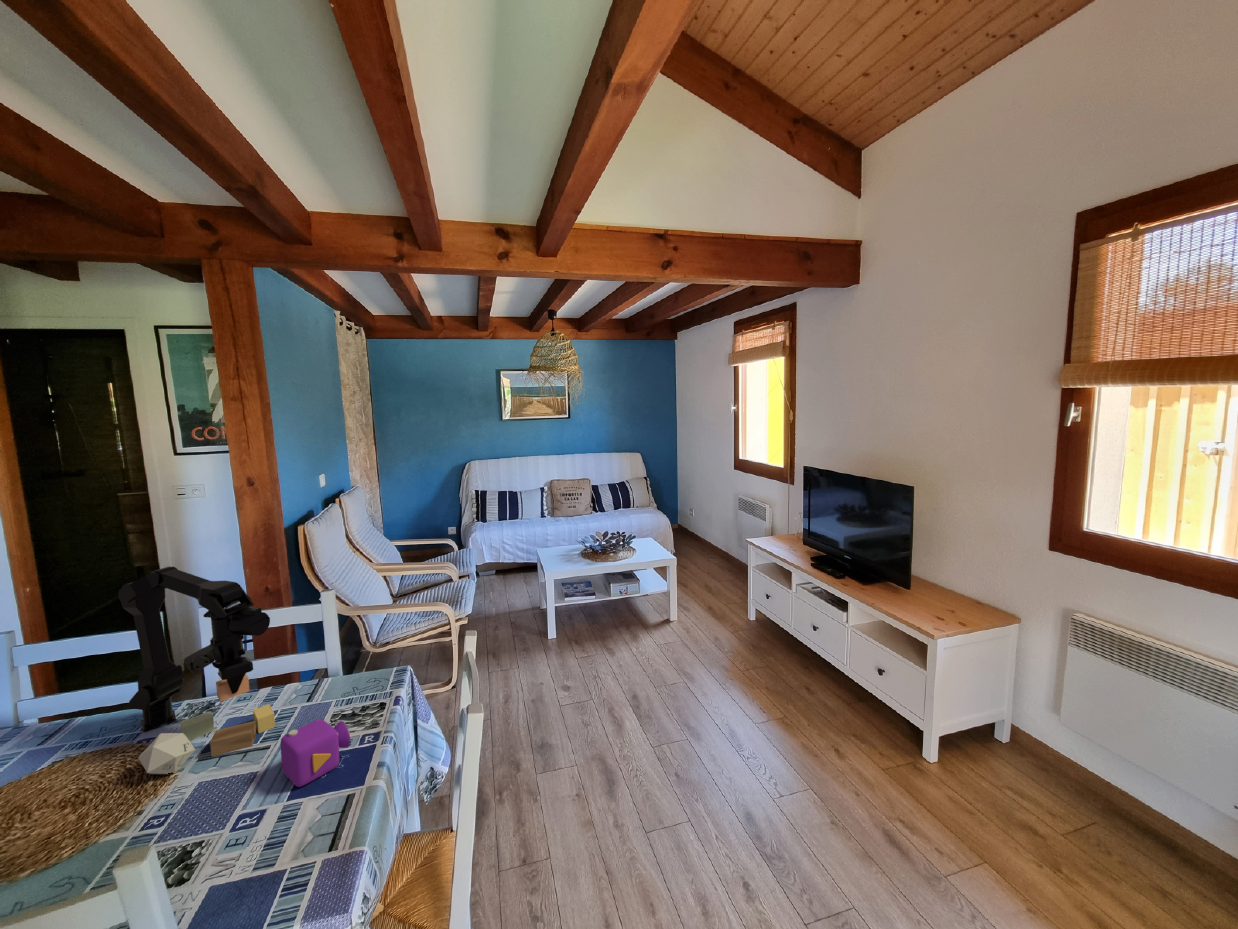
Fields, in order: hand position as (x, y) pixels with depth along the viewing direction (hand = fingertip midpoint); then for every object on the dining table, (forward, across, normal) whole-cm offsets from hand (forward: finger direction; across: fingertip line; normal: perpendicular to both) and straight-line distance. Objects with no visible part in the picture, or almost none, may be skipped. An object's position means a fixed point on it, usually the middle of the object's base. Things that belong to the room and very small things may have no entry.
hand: (232, 690), depth 124 cm
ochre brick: (+12, +2, +6) cm, 13 cm away
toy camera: (+12, +30, +10) cm, 34 cm away
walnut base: (+12, +6, -2) cm, 13 cm away
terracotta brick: (+1, 0, 0) cm, 1 cm away
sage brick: (+12, -7, -7) cm, 15 cm away
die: (+12, +5, -14) cm, 19 cm away
